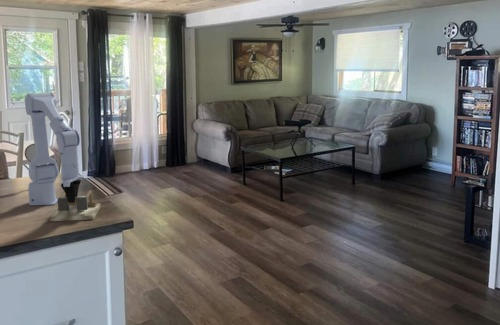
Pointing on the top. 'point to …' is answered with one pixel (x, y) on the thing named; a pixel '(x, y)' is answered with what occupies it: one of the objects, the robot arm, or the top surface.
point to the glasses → (80, 201)
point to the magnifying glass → (30, 152)
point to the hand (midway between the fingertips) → (72, 201)
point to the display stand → (77, 212)
